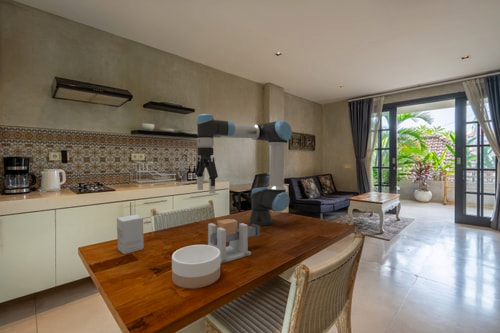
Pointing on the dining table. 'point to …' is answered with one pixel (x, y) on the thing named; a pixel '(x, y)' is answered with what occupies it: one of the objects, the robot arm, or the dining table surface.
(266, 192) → the robot arm
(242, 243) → the bracket
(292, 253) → the dining table surface
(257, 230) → the shaft
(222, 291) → the dining table surface
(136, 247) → the supplement box
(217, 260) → the bowl
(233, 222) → the block
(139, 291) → the dining table surface
